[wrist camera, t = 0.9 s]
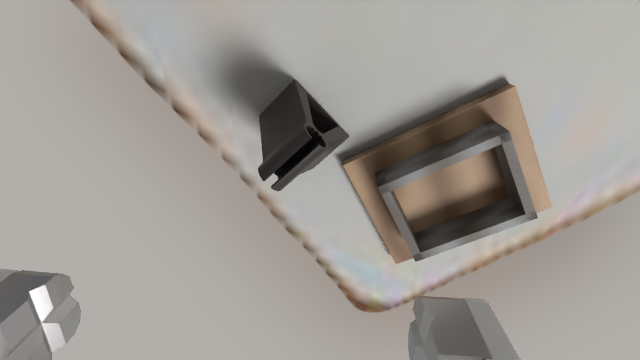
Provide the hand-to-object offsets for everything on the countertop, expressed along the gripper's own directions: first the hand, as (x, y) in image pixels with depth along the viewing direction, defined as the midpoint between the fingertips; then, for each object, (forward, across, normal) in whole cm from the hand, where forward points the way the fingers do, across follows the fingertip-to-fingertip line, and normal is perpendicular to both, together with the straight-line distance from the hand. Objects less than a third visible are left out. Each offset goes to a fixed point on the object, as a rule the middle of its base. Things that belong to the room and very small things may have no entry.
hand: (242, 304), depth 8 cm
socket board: (+33, -16, +11) cm, 39 cm away
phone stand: (+34, +1, +5) cm, 34 cm away
